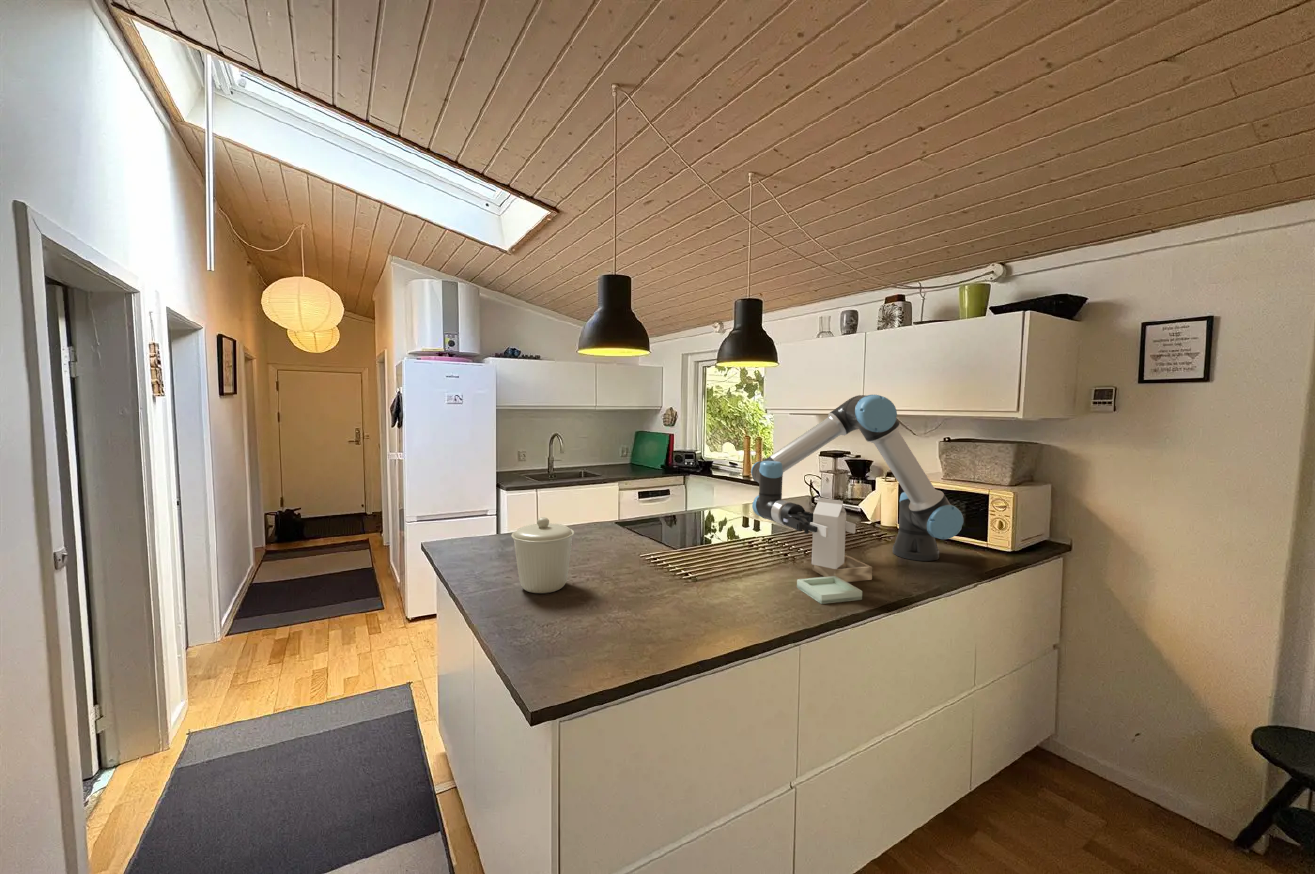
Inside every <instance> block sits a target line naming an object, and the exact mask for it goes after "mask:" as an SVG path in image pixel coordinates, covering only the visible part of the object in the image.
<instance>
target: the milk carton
mask: <svg viewBox="0 0 1315 874" xmlns="http://www.w3.org/2000/svg"><path fill="white" fill-rule="evenodd" d="M812 513H813V523H816V524H820V525H823V526H826V527H828V537H824V536H821V535H818V534H815V533H812V538H811V539H812V545H811V565H812V564H813V565H818V566H823V567H827V568H832V569H837V568H838V567H840V566H841V565H842V564H844V556H845V555H846V554H845V553H846V552H845V550H846V549H845V548H846V532H847V531H846V521H847V511H846V509H845V506H844V501H843V500H840V499H831V498H830V499H829V498H822V497H818V498H817V504H816V506H815V509H814V510H813V512H812Z"/></svg>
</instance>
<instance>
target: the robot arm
mask: <svg viewBox="0 0 1315 874" xmlns="http://www.w3.org/2000/svg"><path fill="white" fill-rule="evenodd" d="M897 412H898V411H897V408H896V406H895V404H894V403H893V402H892V400H890V399H889V398H888V397H886V396H882V395H879V394H868V395H866V394H865V395H862V394H861V395H860V394H859V395H855V396H853V397H851V398H849V399H847V400H846V401H844V402H843V403H842V404H840V405H839V406H837V407H836V408H834V409H833V410H832V411H830V412H829V413H828V414H827V415H828V416H827V417H826V418H825V419H823V420H822V421H821V422H819V423H817V424H816V425H815V426H813V427H811V428H810V429H808V430H806V432H804V433H803V434H801V435H800V436H799V435H798V436H797V437H796V438H795V439H794V440H792V441H790V442H789V443H788V444H786V445H784V446H782V448H780V449H778V450H776V452H774V453H772V454H771V455H769V456H768V457H766V458H765V459H763V460H762V461H761V460H760V461H756V462H755V463H754V464H753V465H752V467H751V469H750V474H751V477H752V478H753V480H754V481H755V482H757V483H758V484H759V485H758V488H759V489H758V495H756V496H755V498H754V499H753V502H752V505H751V506H752V511H753V513H754V514H756V516H759V517H761V518H762V519H765V520H769V521H773V522H775V523H778V524H781V526H782V527H783V526H786V527H789V528H791V529H792V528H793V529H794V530H796V531H797V532H802V531H803V533H804V534H805V535H806V534H807V535H808V534H809V533H812V534H813V533H815V534H818V535H821V536H824V537H828V527H826V526H823V525H820V524H816V523H813V513H814V512H810V511H806V510H805V508H804V507H803V506H802V505H801V504H798V503H795V502H791V501H787V500H784V499H782V498H783V497H782V496H783V477H784V476H783V475H784V473H785V472H786V471H788V470H789V469H791V468H793V467H794V466H796V465H797V464H799V463H800V462H802V461H803V460H804V459H806V458H807V457H809V456H811V455H812V454H814V453H815V452H817V451H818V450H819V449H822V448H823V447H824V446H826V445H827V444H830V443H831V442H832V441H834V440H835V439H837V438H838V437H839V436H846V435H848V434H850V433H851V432H854V431H857V430H859V431H860V433H861V434H862V436H863V438H864V439H865V441H866V442H867V443H871V444H874V446H875V448H876V449H877V451H878V452H879V454H880V455H881V457H882V458H883V460H884V461H885V463H886V465H887V466H888V468H889V470H890V471H891V473H892V474H893V476H894V478H895V479H896V481H897V482H898V484H899V485H900V487H901V489H902V490H903V492H901V494H900V496H899V501H898V502H899V513H898V517H899V518H898V533H897V535H896V538H895V541H894V544H893V545H892V554H894V555H895V556H897V557H900V558H902V559H908V560H913V561H920V562H921V561H922V562H923V561H924V562H930V561H931V562H932V561H936V560H938V559H940V550H939V547H938V543H937V540H936V539H940V540H949V539H953V538H955V536H957V535H958V534H959V533H960V531H961V530H962V527H963V525H964V516H963V513H962V512H961V510H960V509H959V508H958V507H957V506H955V505H952V504H951V503H950V502H949V500H948V498H947V497H946V495H945V494H944V492H943V491H941V490H938V489H936V488H935V486H934V485H933V484H932V482H931V481H930V479H929V478H928V477H929V476H927V474H926V472H925V471H924V469H923V467H922V466H921V465H920V464H921V463H920V462H919V461H918V460H917V458H916V457H915V455H914V453H913V452H912V450H911V448H910V447H909V445H908V444H907V441H906V440H905V438H904V437H903V436H902V434H901V432H900V430H899V428H900V427H901V423H900V421H899V420H898V418H897V416H898V413H897ZM856 525H857V524H856V523H854V522H851V521H847V520H846V531H845V532H847V533H850V534H856Z"/></svg>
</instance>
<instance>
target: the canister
mask: <svg viewBox="0 0 1315 874" xmlns="http://www.w3.org/2000/svg"><path fill="white" fill-rule="evenodd" d="M574 535H575V530H573V529H572V528H570V527H569V526H567V525H564V524H559V523H550V520H549V519H548V518H547V517H539V518H538V519H537V521H536V524H535V523H533V524H529V525H524V526H522V527H520V528H518V529H517V530H514V531H513V532H511V538H512V539H513V542H514V544H513V545H514V551H515V558H516V559H515V561H516V566H517V572H518V574H517V575H518V580H519V584H520V586H521V588H522V589H523V590H524V591H526V592H529V593H533V594H549V593H554V592H556V591H559V590H560V589H561V590H562V588H563V587H564V586H565V585H566V583H567V580H568V576H569V571H570V570H569V567H570V558H571V549H572V542H573V541H572V539H573V536H574Z"/></svg>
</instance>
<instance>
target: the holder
mask: <svg viewBox="0 0 1315 874" xmlns="http://www.w3.org/2000/svg"><path fill="white" fill-rule="evenodd" d="M811 565H812V568H811V570H812V571H813V572H815V573H817V574H819V575H821V577H829V576H836V577H838V578H840V579H842V580H844V581H845V582H847V583H851V582H861V581H862V582H863V581H870V580H872V579H873V566H871V565H869V564H867V563H865V562H862V561H861V560H859V559H857V558H854V557H852V556H850V555H847V554H845V556H844V564H842V565H841V566H840V567H838V568H837V569H832V568H827V567H823V566H818V565H813V564H812V563H811Z"/></svg>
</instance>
